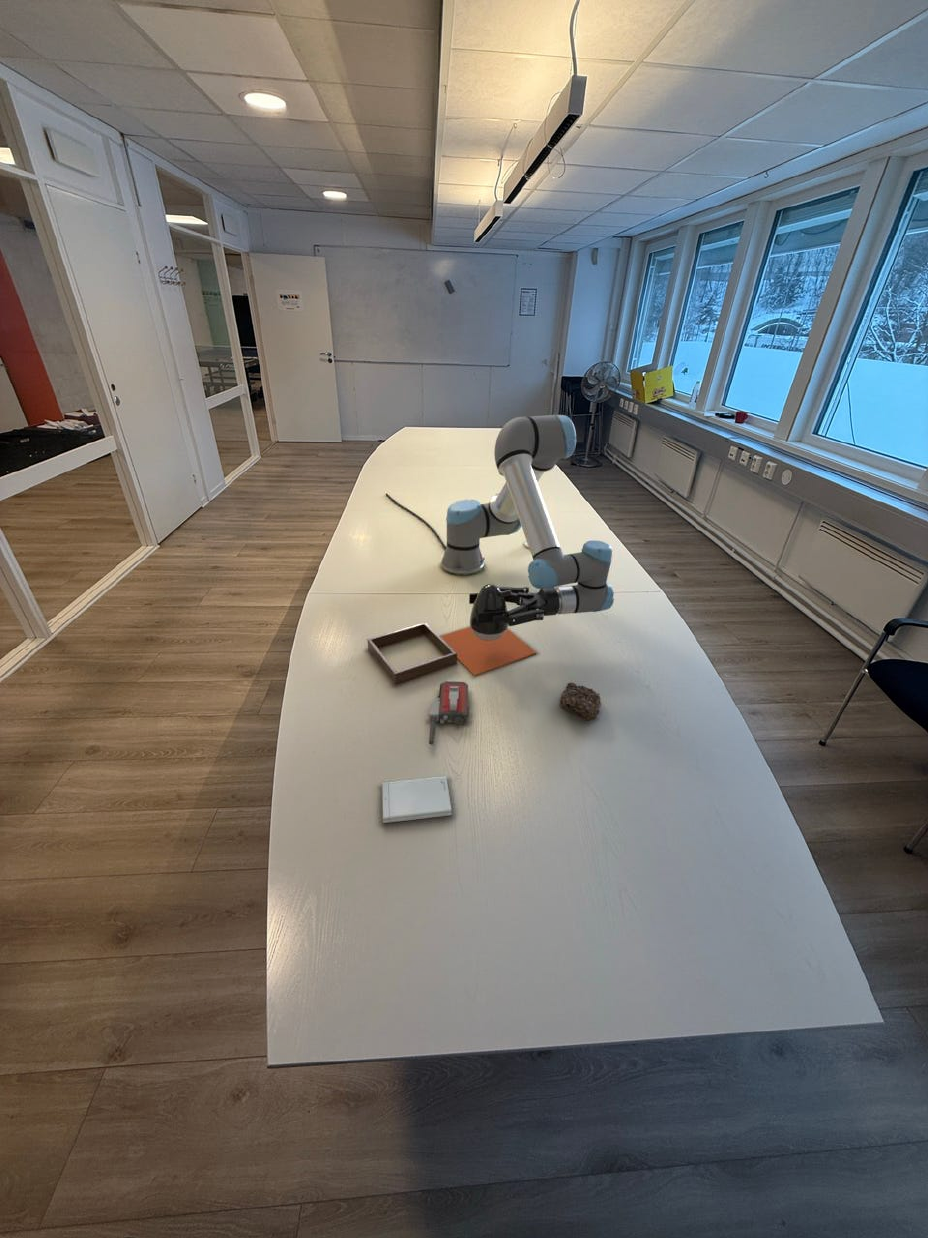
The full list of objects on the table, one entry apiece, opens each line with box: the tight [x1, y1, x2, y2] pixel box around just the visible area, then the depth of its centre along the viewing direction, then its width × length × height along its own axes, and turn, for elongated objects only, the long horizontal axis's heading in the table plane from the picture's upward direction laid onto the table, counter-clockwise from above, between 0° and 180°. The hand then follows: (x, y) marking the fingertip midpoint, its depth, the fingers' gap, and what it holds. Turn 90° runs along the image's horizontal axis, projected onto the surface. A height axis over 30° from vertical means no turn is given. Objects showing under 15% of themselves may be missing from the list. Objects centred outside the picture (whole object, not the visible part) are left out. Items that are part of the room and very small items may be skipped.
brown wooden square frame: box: [366, 621, 458, 686], centre depth 132 cm, size 18×18×4 cm
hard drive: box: [381, 775, 453, 824], centre depth 94 cm, size 2×8×12 cm
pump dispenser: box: [469, 583, 511, 641], centre depth 131 cm, size 10×10×15 cm
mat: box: [439, 626, 537, 677], centre depth 138 cm, size 20×20×1 cm
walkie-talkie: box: [428, 680, 469, 746], centre depth 113 cm, size 9×4×20 cm
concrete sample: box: [559, 682, 602, 722], centre depth 116 cm, size 12×10×5 cm
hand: (473, 608), depth 129 cm, fingers closed on pump dispenser, 9 cm apart
